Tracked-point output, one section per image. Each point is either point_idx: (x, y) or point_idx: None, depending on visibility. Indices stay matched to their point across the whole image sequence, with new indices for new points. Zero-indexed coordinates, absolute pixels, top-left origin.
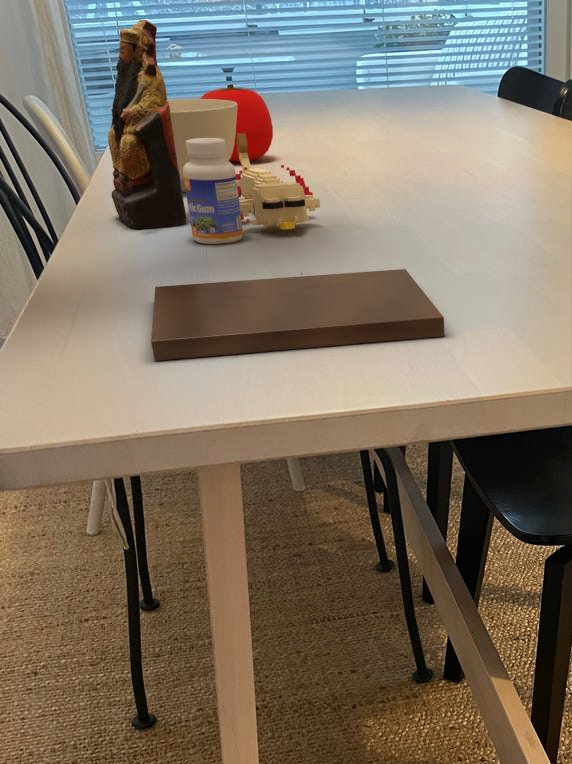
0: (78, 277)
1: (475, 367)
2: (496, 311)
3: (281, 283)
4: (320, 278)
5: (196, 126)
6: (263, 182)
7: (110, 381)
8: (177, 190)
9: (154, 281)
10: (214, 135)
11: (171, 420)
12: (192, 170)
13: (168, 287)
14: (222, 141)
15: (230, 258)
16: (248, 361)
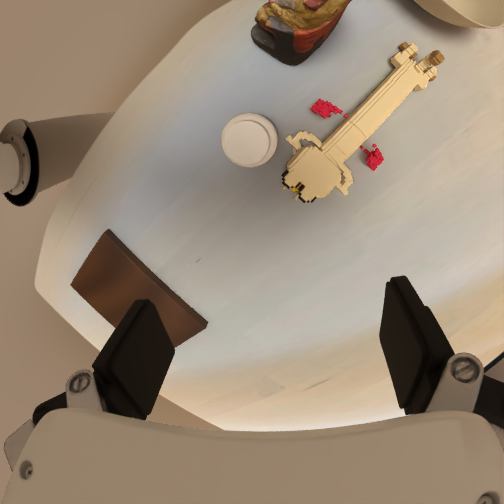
0: (117, 136)
1: None
2: (195, 362)
3: (146, 287)
4: (164, 300)
5: (435, 2)
6: (333, 144)
7: (59, 279)
8: (293, 59)
9: (135, 188)
10: (448, 17)
11: (62, 312)
12: (221, 141)
13: (106, 240)
14: (251, 164)
15: (206, 189)
16: None
